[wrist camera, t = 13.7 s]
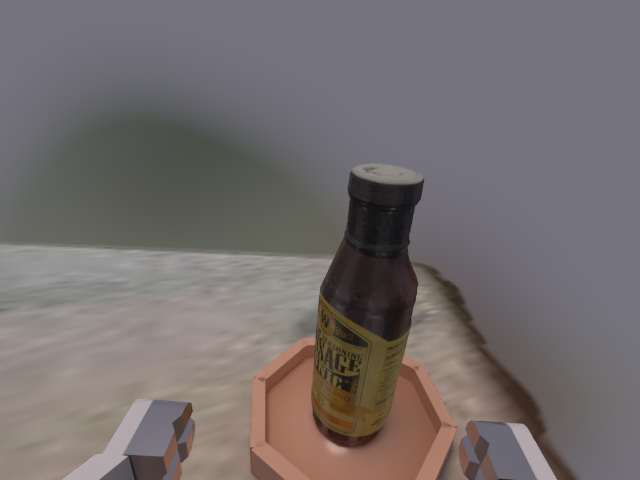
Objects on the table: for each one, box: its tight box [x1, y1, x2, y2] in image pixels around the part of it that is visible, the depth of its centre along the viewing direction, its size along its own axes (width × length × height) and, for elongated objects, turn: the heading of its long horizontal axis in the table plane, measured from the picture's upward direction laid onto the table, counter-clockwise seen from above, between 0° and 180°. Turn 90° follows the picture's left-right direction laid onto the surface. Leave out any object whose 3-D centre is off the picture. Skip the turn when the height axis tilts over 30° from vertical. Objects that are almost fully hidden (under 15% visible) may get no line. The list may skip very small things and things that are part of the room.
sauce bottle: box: [311, 164, 424, 446], centre depth 23 cm, size 6×6×20 cm
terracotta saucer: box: [250, 338, 457, 480], centre depth 27 cm, size 15×15×2 cm
